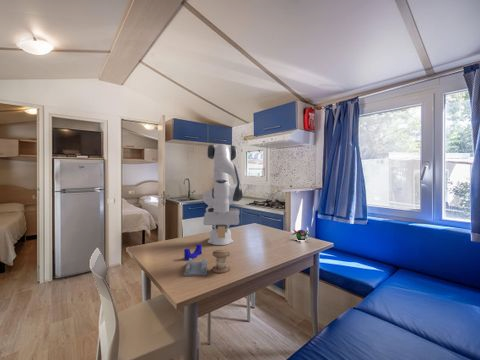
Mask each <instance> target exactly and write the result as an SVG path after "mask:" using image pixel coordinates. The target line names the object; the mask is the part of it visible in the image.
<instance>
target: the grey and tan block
mask: <svg viewBox="0 0 480 360" xmlns="http://www.w3.org/2000/svg"><path fill="white" fill-rule="evenodd" d="M218 238H225V225H218Z"/></svg>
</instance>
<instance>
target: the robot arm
mask: <svg viewBox="0 0 480 360" xmlns="http://www.w3.org/2000/svg"><path fill="white" fill-rule="evenodd" d="M206 155H207V158H209V160H210V159H211V160H213V165H214V167H213V182H214V185H213V188H212V189H206V190H204V192H203V193H202V200H203V203H205V204H206V205H207V207H206V208H205V212H204V215H203V225H204V226H211V228H212V229H211V230H210V233H209V239H207V244H211V245H214V246H225V245H229V244H232V243H234V240H233V238H232V234H231V233H232V232H231V230H230V229H229V228H230V226H231V225H233V226H234V225H235V226H237V225H239V224H240V217H239V215H240V209H239V208H237V207H234V208H233V207H230V205H232V204H233V205H234V204H236V203H239V202H240V201H241V200H242V199H243V197H244V191H243V187H242V184H241V180H240V177H239V173H238V169H237V165H235V163H233V162H232V161H234V160H235V159H236V157H237V155H238V150H237V147H236V146H235V145H232V144H223V143H221V144H209V145H208V146H207V148H206ZM229 176H230V177H231V179H232V182H233V183H232V184H230V177H229ZM218 225H225V238H218Z"/></svg>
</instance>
